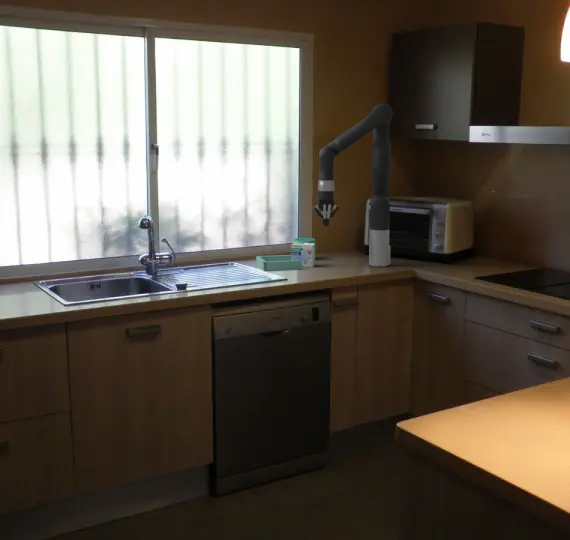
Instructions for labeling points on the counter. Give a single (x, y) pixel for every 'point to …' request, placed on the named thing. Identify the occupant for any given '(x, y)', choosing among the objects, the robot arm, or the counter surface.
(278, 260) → the corral
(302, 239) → the snack cup
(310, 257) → the light bulb box
